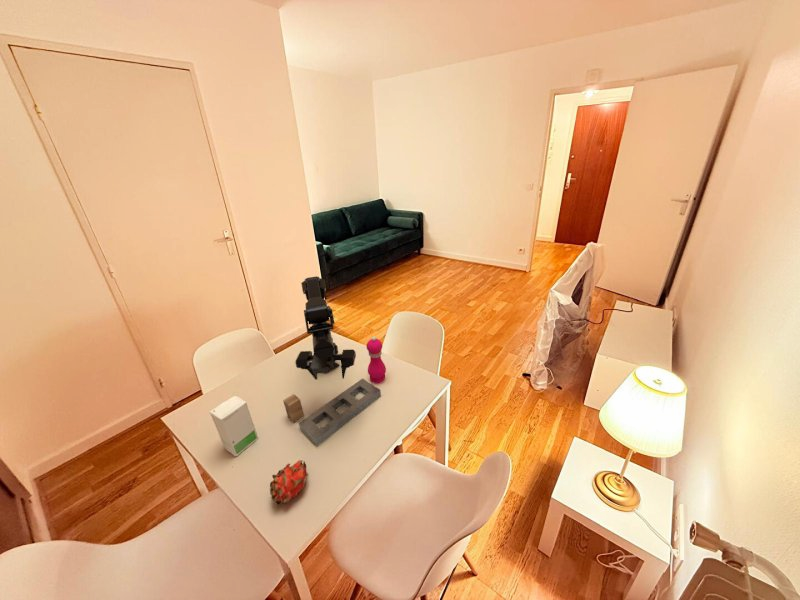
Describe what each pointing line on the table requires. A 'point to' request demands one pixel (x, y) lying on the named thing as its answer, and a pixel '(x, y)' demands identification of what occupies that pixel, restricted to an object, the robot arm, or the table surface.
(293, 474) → the dragon fruit
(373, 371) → the pepper mill
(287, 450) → the table surface
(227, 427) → the skincare box
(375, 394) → the grey peg hole board
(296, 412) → the walnut peg
